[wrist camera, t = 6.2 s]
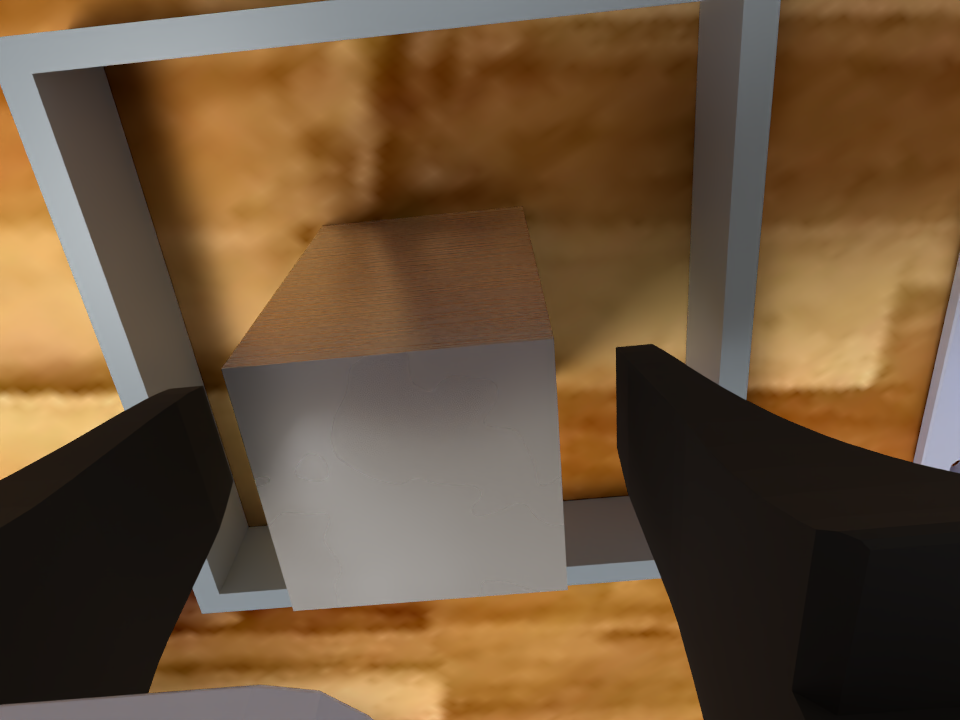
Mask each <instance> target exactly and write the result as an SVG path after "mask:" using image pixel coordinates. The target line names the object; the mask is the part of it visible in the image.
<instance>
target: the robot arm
mask: <svg viewBox="0 0 960 720" xmlns="http://www.w3.org/2000/svg"><path fill="white" fill-rule="evenodd" d="M616 400H617V449H618V454H619V458H620V462H621V467H622V471H623V475H624V479H625V483H626V487H627V491H628V495H629V497H630V500H631V503H632V505H633V508H634V510H635V513H636V516H637V518H638V521H639V523H640V526H641V528H642V531H643V533H644V536H645V538H646V541H647V543H648V546H649V548H650V551H651V553H652V556H653V558H654V561H655V563H656V566H657V568H658V571H659V573H660V576H661V579H662V581H663V584H664V586H665V589H666V591H667V594H668V596H669V599H670V602H671V604H672V607H673V610H674V613H675V616H676V619H677V622H678V625H679V629H680V633H681V636H682V640H683V643H684V647H685V651H686V654H687V658H688V662H689V665H690V669H691V672H692V676H693V680H694V684H695V687H696V691H697V695H698V699H699V703H700V707H701V711H702V714H703V718H704V720H960V461H959V460H960V253H959V258H958V262H957V267H956V271H955V276H954V280H953V285H952V289H951V294H950V299H949V303H948V308H947V312H946V317H945V321H944V326H943V330H942V335H941V339H940V344H939V348H938V353H937V357H936V362H935V366H934V371H933V375H932V380H931V385H930V389H929V394H928V398H927V403H926V407H925V412H924V416H923V421H922V425H921V430H920V434H919V439H918V443H917V448H916V452H915V457H914V461H913V462H909V461H905V460H902V459H898V458H894V457H890V456H887V455H883V454H880V453H877V452H874V451H871V450H867V449H864V448H861V447H858V446H854V445H851V444H848V443H845V442H842V441H839V440H836V439H834V438H831V437H828V436H825V435H823V434H820V433H818V432H815V431H813V430H810V429H808V428H805V427H803V426H800V425H798V424H796V423H793V422H791V421H788V420H786V419H784V418H781V417H779V416H777V415H775V414H773V413H771V412H769V411H767V410H765V409H763V408H761V407H759V406H757V405H755V404H753V403H751V402H749V401H747V400H745V399H743V398H741V397H739V396H738V395H736V394H734V393H732V392H730V391H729V390H727V389H725V388H723V387H722V386H720V385H718V384H717V383H715V382H713V381H712V380H710V379H708V378H707V377H705V376H703V375H702V374H700V373H698V372H697V371H695V370H694V369H692V368H691V367H689V366H687V365H686V364H684V363H683V362H681V361H679V360H678V359H676V358H675V357H673V356H672V355H670V354H668V353H667V352H665V351H664V350H662V349H660V348H658V347H657V346H655V345H653V344H647V345H637V346H626V347H616ZM956 461H959V463H957V464H956V465H955V466H952V467H951V465H952V464H953V463H955V462H956ZM232 484H233V478H232V475H231V472H230V469H229V465H228V462H227V459H226V456H225V453H224V450H223V446H222V443H221V440H220V437H219V434H218V431H217V427H216V424H215V421H214V418H213V415H212V412H211V409H210V405H209V402H208V399H207V396H206V393H205V390H204V386H193V387H183V388H172V389H167V390H165V391H162V392H160V393H158V394H155V395H153V396H151V397H149V398H147V399H145V400H143V401H142V402H140V403H138V404H136V405H134V406H132V407H131V408H129V409H127V410H125V411H123V412H122V413H120V414H118V415H117V416H115V417H113V418H111V419H110V420H108V421H106V422H104V423H103V424H101V425H99V426H98V427H96V428H94V429H92V430H91V431H89V432H87V433H86V434H84V435H82V436H80V437H79V438H77V439H75V440H74V441H72V442H70V443H68V444H67V445H65V446H63V447H61V448H59V449H57V450H56V451H54V452H52V453H50V454H48V455H46V456H45V457H43V458H41V459H39V460H37V461H35V462H34V463H32V464H30V465H28V466H26V467H24V468H23V469H21V470H19V471H17V472H15V473H13V474H12V475H10V476H8V477H6V478H4V479H2V480H0V720H373V719H372V718H371V717H369V716H368V715H367V714H365V713H363V712H361V711H359V710H357V709H355V708H353V707H351V706H349V705H347V704H345V703H343V702H341V701H339V700H337V699H335V698H333V697H331V696H329V695H327V694H325V693H323V692H321V691H317V690H307V689H297V688H287V687H278V686H268V685H250V686H237V687H224V688H211V689H198V690H185V691H172V692H159V693H148V692H149V689H150V686H151V683H152V680H153V677H154V674H155V671H156V668H157V666H158V663H159V661H160V658H161V656H162V653H163V651H164V649H165V646H166V644H167V641H168V639H169V637H170V635H171V633H172V630H173V628H174V626H175V624H176V622H177V620H178V618H179V616H180V614H181V611H182V609H183V607H184V605H185V603H186V601H187V599H188V597H189V595H190V592H191V590H192V588H193V586H194V584H195V582H196V580H197V578H198V576H199V573H200V571H201V569H202V567H203V565H204V563H205V561H206V558H207V556H208V554H209V552H210V550H211V547H212V545H213V543H214V541H215V539H216V536H217V534H218V532H219V529H220V526H221V523H222V520H223V517H224V514H225V510H226V507H227V503H228V500H229V496H230V492H231V488H232Z"/></svg>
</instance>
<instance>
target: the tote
mask: <svg viewBox="0 0 960 720" xmlns="http://www.w3.org/2000/svg"><path fill="white" fill-rule="evenodd" d="M697 1H700V14H699V39H698V64H697V89H696V115H695V140H694V165H693V190H692V216H691V241H690V266H689V292H688V317H687V342H686V365H687V366H689V367H691V368H692V369H694V370H695V371H697V372H698V373H700V374H702V375H703V376H705V377H707V378H708V379H710V380H712V381H713V382H715V383H717V384H718V385H720V386H722V387H723V388H725V389H727V390H729V391H730V392H732V393H734V394H736V395H738V396H739V397H741V398H743V399H745V400H746V398H747V387H748V375H749V363H750V352H751V340H752V329H753V317H754V305H755V294H756V282H757V270H758V259H759V247H760V236H761V224H762V212H763V201H764V189H765V177H766V166H767V154H768V143H769V131H770V119H771V108H772V96H773V84H774V73H775V61H776V49H777V38H778V26H779V15H780V3H781V0H329V1H320V2H311V3H302V4H293V5H284V6H275V7H266V8H257V9H248V10H239V11H230V12H221V13H212V14H203V15H194V16H185V17H176V18H167V19H158V20H149V21H140V22H131V23H122V24H113V25H104V26H95V27H86V28H77V29H68V30H59V31H50V32H41V33H32V34H23V35H14V36H5V37H0V85H1V87H2V90H3V93H4V95H5V98H6V101H7V103H8V106H9V108H10V111H11V114H12V116H13V119H14V122H15V124H16V127H17V129H18V132H19V135H20V137H21V140H22V143H23V145H24V148H25V150H26V153H27V156H28V158H29V161H30V163H31V166H32V169H33V171H34V174H35V177H36V179H37V182H38V184H39V187H40V190H41V192H42V195H43V198H44V200H45V203H46V205H47V208H48V211H49V213H50V216H51V219H52V221H53V224H54V226H55V229H56V232H57V234H58V237H59V240H60V242H61V245H62V247H63V250H64V253H65V255H66V258H67V261H68V263H69V266H70V268H71V271H72V274H73V276H74V279H75V282H76V284H77V287H78V289H79V292H80V295H81V297H82V300H83V302H84V305H85V308H86V310H87V313H88V316H89V318H90V321H91V323H92V326H93V329H94V331H95V334H96V337H97V339H98V342H99V344H100V347H101V350H102V352H103V355H104V358H105V360H106V363H107V365H108V368H109V371H110V373H111V376H112V379H113V381H114V384H115V386H116V389H117V392H118V394H119V397H120V400H121V402H122V405H123V407H124V410H127V409H129V408H131V407H132V406H134V405H136V404H138V403H140V402H142V401H143V400H145V399H147V398H149V397H151V396H153V395H155V394H158V393H160V392H162V391H165V390H167V389H172V388H183V387H193V386H204V384H203V381H202V378H201V375H200V372H199V368H198V365H197V362H196V359H195V356H194V353H193V349H192V346H191V343H190V340H189V337H188V334H187V330H186V327H185V324H184V321H183V318H182V315H181V311H180V308H179V305H178V302H177V299H176V296H175V292H174V289H173V286H172V283H171V280H170V277H169V273H168V270H167V267H166V264H165V261H164V258H163V254H162V251H161V248H160V245H159V242H158V239H157V235H156V232H155V229H154V226H153V223H152V220H151V216H150V213H149V210H148V207H147V204H146V201H145V197H144V194H143V191H142V188H141V185H140V182H139V178H138V175H137V172H136V169H135V166H134V163H133V159H132V156H131V153H130V150H129V147H128V144H127V140H126V137H125V134H124V131H123V128H122V125H121V121H120V118H119V115H118V112H117V109H116V106H115V102H114V99H113V96H112V93H111V90H110V87H109V83H108V80H107V77H106V74H105V71H104V68H103V66H108V65H118V64H127V63H136V62H145V61H154V60H164V59H173V58H182V57H191V56H200V55H210V54H219V53H228V52H237V51H246V50H256V49H265V48H274V47H283V46H292V45H301V44H311V43H320V42H329V41H338V40H347V39H357V38H366V37H375V36H384V35H393V34H403V33H412V32H421V31H430V30H439V29H449V28H458V27H467V26H476V25H485V24H495V23H504V22H513V21H522V20H531V19H540V18H550V17H559V16H568V15H577V14H586V13H596V12H605V11H614V10H623V9H632V8H642V7H651V6H660V5H669V4H678V3H688V2H697ZM204 390H205V387H204ZM205 393H206V391H205ZM206 396H207V394H206ZM207 399H208V397H207ZM208 402H209V400H208ZM209 405H210V403H209ZM210 409H211V406H210ZM211 412H212V410H211ZM212 415H213V413H212ZM213 418H214V416H213ZM214 421H215V419H214ZM215 424H216V422H215ZM216 427H217V425H216ZM217 431H218V429H217ZM218 434H219V432H218ZM219 437H220V435H219ZM220 440H221V438H220ZM221 443H222V441H221ZM222 446H223V444H222ZM223 450H224V448H223ZM224 453H225V451H224ZM225 456H226V454H225ZM226 459H227V457H226ZM227 462H228V460H227ZM228 465H229V463H228ZM229 469H230V467H229ZM230 472H231V470H230ZM231 475H232V473H231ZM232 478H233V476H232ZM563 514H564V532H565V551H566V569H567V585H579V584H592V583H605V582H618V581H630V580H643V579H656V578H661V576H660V573H659V571H658V568H657V566H656V563H655V561H654V558H653V556H652V553H651V551H650V548H649V546H648V543H647V541H646V538H645V536H644V533H643V531H642V528H641V526H640V523H639V521H638V518H637V516H636V513H635V510H634V508H633V505H632V503H631V500H630V497H629V496H622V497H609V498H597V499H585V500H573V501H563ZM193 591H194V594H195V596H196V599H197V601H198V604H199V607H200V609H201V612H202V614H205V613H218V612H230V611H243V610H256V609H269V608H282V607H292V604H291V601H290V597H289V594H288V591H287V587H286V584H285V581H284V577H283V574H282V570H281V567H280V564H279V560H278V557H277V554H276V550H275V547H274V544H273V540H272V537H271V534H270V530H269V527H268V526H256V527H248V524H247V520H246V517H245V514H244V511H243V508H242V505H241V501H240V498H239V495H238V492H237V489H236V486H235V482H234V479H233V484H232V488H231V492H230V496H229V500H228V503H227V507H226V510H225V514H224V517H223V520H222V523H221V526H220V529H219V532H218V534H217V536H216V539H215V541H214V543H213V545H212V547H211V550H210V552H209V554H208V556H207V558H206V561H205V563H204V565H203V567H202V569H201V571H200V573H199V576H198V578H197V580H196V582H195V584H194V586H193Z"/></svg>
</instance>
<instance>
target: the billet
mask: <svg viewBox="0 0 960 720" xmlns="http://www.w3.org/2000/svg"><path fill="white" fill-rule="evenodd" d="M221 370H222V373H223V376H224V380H225V383H226V386H227V390H228V393H229V396H230V400H231V403H232V406H233V410H234V413H235V416H236V420H237V423H238V426H239V430H240V433H241V437H242V440H243V443H244V447H245V450H246V453H247V457H248V460H249V463H250V467H251V470H252V473H253V477H254V480H255V483H256V487H257V490H258V493H259V497H260V500H261V504H262V507H263V510H264V514H265V517H266V520H267V524H268V527H269V530H270V534H271V537H272V540H273V544H274V547H275V550H276V554H277V557H278V560H279V564H280V567H281V570H282V574H283V577H284V581H285V584H286V587H287V591H288V594H289V597H290V601H291V604H292V607H293V611H298V610H312V609H325V608H338V607H351V606H364V605H377V604H390V603H403V602H416V601H429V600H442V599H455V598H468V597H481V596H494V595H507V594H520V593H533V592H546V591H559V590H568V587H567V569H566V551H565V532H564V514H563V496H562V478H561V460H560V441H559V423H558V405H557V387H556V369H555V350H554V337H553V333H552V329H551V325H550V320H549V316H548V312H547V308H546V304H545V300H544V295H543V291H542V287H541V283H540V279H539V274H538V270H537V266H536V262H535V258H534V253H533V249H532V245H531V241H530V237H529V233H528V228H527V224H526V220H525V216H524V212H523V207H522V206H519V207H508V208H498V209H488V210H478V211H468V212H458V213H447V214H437V215H427V216H417V217H407V218H397V219H386V220H376V221H366V222H356V223H346V224H335V225H325V226H322V227H321V229H320V230H319V232H318V233H317V234H316V236H315V237H314V239H313V240H312V241H311V243H310V244H309V246H308V247H307V249H306V250H305V251H304V253H303V254H302V256H301V257H300V258H299V260H298V261H297V263H296V264H295V265H294V267H293V268H292V270H291V271H290V273H289V274H288V275H287V277H286V278H285V280H284V281H283V282H282V284H281V285H280V287H279V288H278V289H277V291H276V292H275V294H274V295H273V297H272V298H271V299H270V301H269V302H268V304H267V305H266V306H265V308H264V309H263V311H262V312H261V313H260V315H259V316H258V318H257V319H256V321H255V322H254V323H253V325H252V326H251V328H250V329H249V330H248V332H247V333H246V335H245V336H244V337H243V339H242V340H241V342H240V343H239V345H238V346H237V347H236V349H235V350H234V352H233V353H232V354H231V356H230V357H229V359H228V360H227V361H226V363H225V364H224V366H223V367H222V369H221Z"/></svg>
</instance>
